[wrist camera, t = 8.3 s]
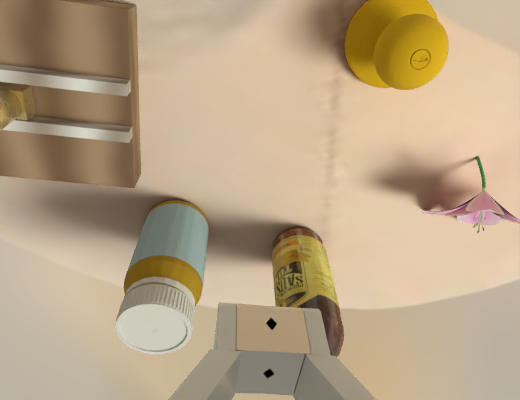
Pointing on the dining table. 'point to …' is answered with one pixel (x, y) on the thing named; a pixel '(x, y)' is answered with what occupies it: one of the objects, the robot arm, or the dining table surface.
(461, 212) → the lily
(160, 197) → the dining table surface
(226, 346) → the robot arm
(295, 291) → the sauce bottle
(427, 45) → the doorknob
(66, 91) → the door latch block
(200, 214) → the bottle
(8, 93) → the bolt
